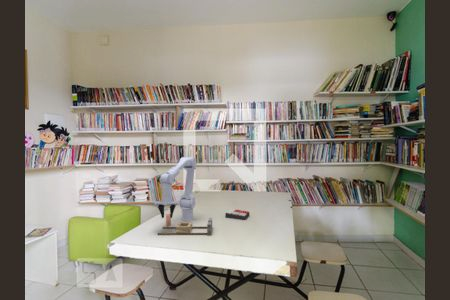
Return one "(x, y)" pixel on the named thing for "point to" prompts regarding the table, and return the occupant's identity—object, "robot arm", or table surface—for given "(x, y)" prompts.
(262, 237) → the table surface
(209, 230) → the rail board
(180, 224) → the wooden square frame
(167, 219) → the dowel
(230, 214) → the hard drive
